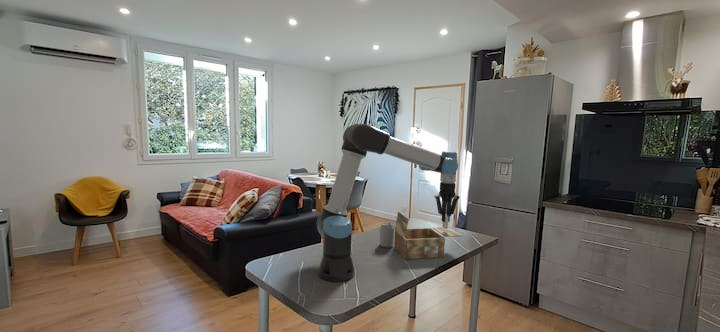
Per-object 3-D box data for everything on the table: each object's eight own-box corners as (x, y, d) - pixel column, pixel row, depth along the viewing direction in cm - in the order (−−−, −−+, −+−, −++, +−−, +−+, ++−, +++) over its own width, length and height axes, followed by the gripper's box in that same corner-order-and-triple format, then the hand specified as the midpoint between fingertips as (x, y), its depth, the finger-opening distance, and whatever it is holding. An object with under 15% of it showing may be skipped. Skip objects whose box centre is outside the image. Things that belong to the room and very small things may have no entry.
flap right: (462, 235, 157) (462, 236, 157) (448, 227, 171) (448, 228, 171) (445, 236, 155) (445, 237, 155) (432, 227, 169) (432, 228, 169)
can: (392, 248, 166) (393, 226, 164) (378, 247, 167) (379, 224, 166) (394, 244, 173) (395, 222, 172) (380, 242, 174) (381, 221, 173)
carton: (405, 260, 150) (406, 240, 149) (393, 247, 167) (394, 229, 166) (444, 258, 155) (445, 238, 154) (429, 246, 171) (430, 227, 170)
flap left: (404, 237, 151) (403, 237, 151) (395, 228, 165) (394, 228, 164) (408, 218, 150) (407, 218, 150) (399, 211, 164) (398, 211, 164)
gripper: (439, 183, 155) (436, 230, 158) (463, 183, 158) (460, 229, 160) (432, 181, 163) (430, 226, 165) (455, 181, 165) (453, 225, 168)
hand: (445, 227), depth 163 cm, fingers closed
